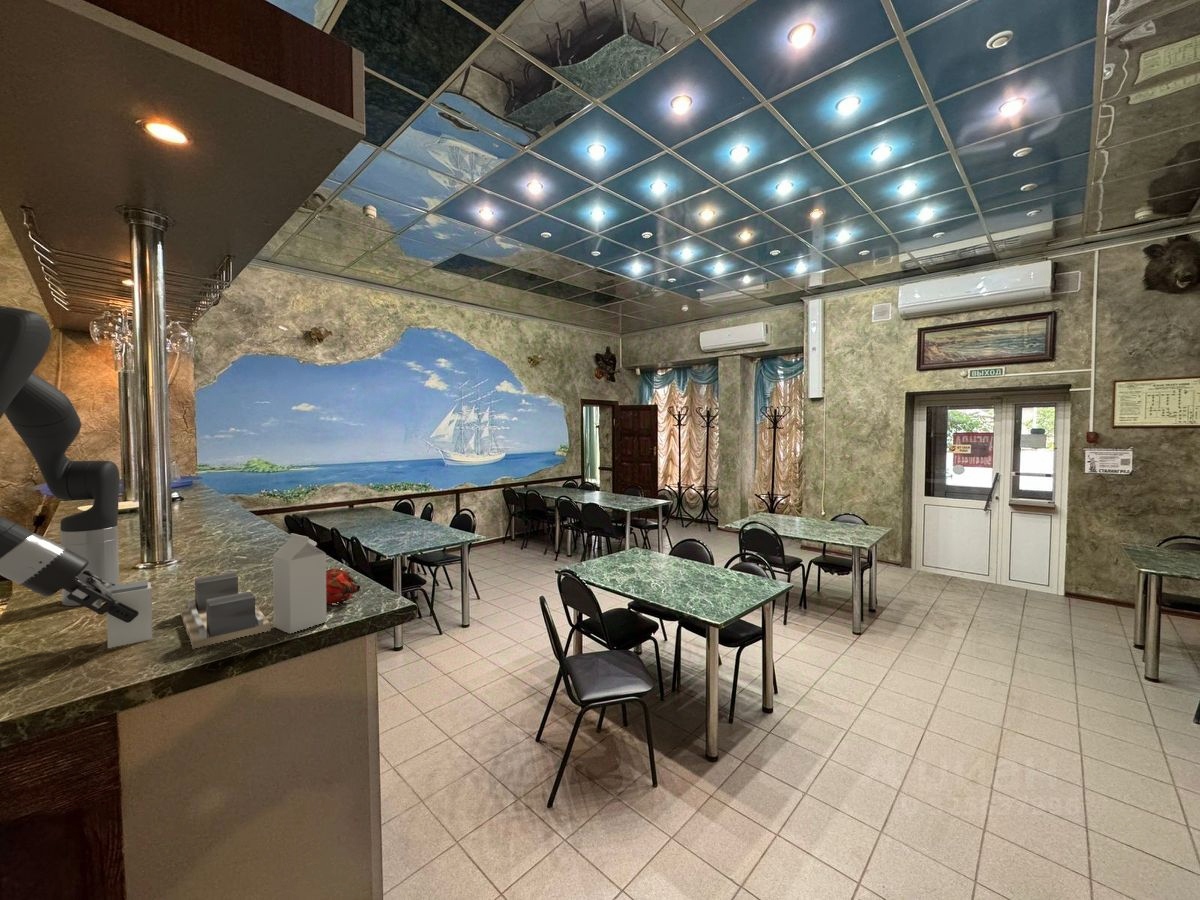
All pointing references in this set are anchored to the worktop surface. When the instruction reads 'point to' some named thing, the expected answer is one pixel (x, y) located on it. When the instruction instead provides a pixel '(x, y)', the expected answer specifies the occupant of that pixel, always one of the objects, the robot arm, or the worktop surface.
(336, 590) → the dragon fruit
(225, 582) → the rail plate
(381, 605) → the worktop surface
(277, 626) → the milk carton
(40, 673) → the worktop surface
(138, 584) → the block
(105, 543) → the robot arm
